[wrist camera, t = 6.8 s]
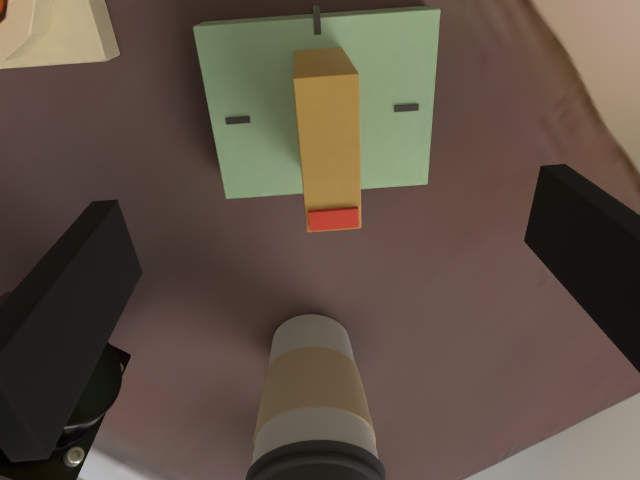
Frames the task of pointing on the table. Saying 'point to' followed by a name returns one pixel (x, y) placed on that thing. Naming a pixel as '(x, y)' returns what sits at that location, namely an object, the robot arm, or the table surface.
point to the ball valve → (76, 425)
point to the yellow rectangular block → (328, 138)
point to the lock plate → (279, 102)
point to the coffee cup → (313, 408)
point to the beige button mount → (55, 33)
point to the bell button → (1, 5)
